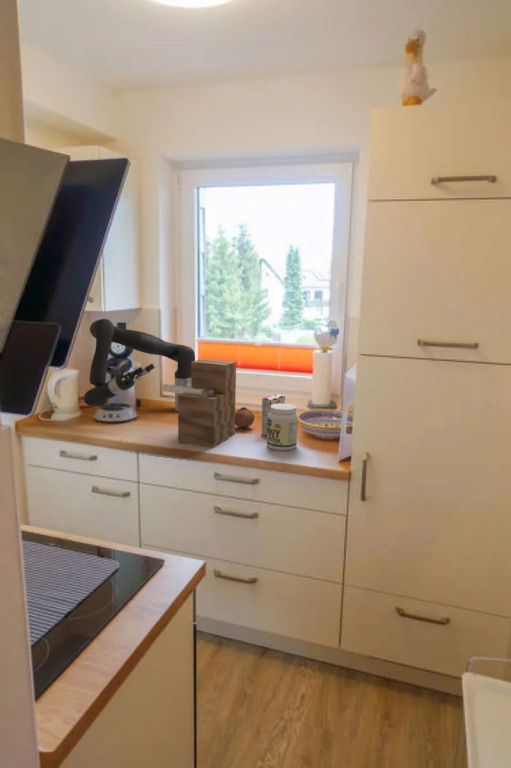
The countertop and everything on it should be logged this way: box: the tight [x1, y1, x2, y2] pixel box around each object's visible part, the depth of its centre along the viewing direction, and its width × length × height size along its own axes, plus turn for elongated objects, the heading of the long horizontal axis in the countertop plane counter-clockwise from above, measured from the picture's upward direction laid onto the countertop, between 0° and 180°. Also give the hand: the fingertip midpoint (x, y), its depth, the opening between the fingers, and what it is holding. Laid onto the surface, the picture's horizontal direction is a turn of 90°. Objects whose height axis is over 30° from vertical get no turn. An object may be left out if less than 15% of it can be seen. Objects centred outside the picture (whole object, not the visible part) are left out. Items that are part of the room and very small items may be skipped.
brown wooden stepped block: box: [177, 358, 237, 449], centre depth 211 cm, size 21×16×32 cm
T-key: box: [162, 383, 216, 398], centre depth 207 cm, size 8×22×2 cm, turn 68°
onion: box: [235, 406, 255, 429], centre depth 229 cm, size 10×9×10 cm
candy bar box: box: [261, 393, 286, 436], centre depth 224 cm, size 11×5×16 cm, turn 143°
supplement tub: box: [266, 403, 299, 452], centre depth 205 cm, size 12×12×17 cm
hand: (148, 367), depth 217 cm, fingers open, 8 cm apart
